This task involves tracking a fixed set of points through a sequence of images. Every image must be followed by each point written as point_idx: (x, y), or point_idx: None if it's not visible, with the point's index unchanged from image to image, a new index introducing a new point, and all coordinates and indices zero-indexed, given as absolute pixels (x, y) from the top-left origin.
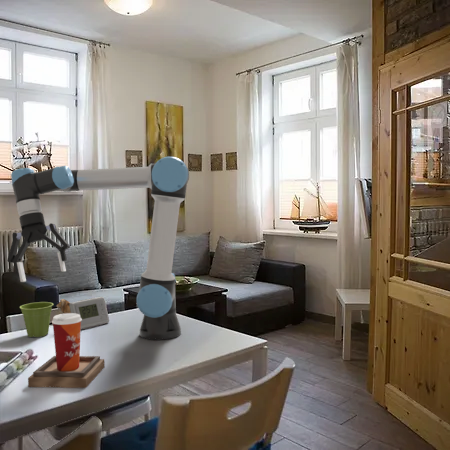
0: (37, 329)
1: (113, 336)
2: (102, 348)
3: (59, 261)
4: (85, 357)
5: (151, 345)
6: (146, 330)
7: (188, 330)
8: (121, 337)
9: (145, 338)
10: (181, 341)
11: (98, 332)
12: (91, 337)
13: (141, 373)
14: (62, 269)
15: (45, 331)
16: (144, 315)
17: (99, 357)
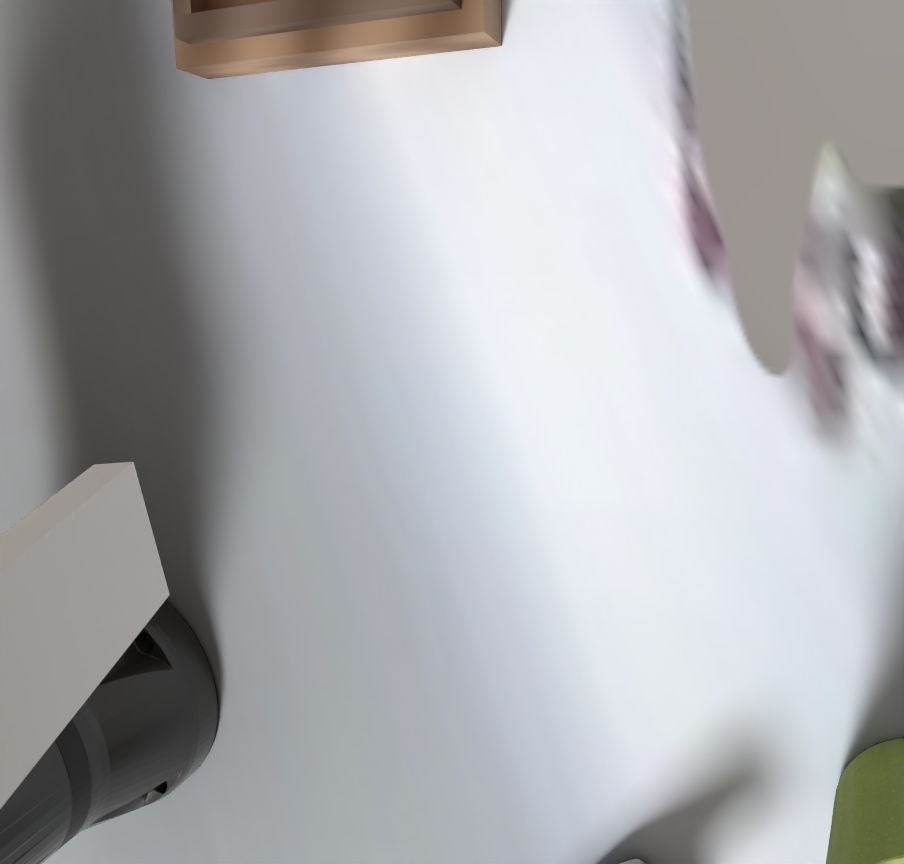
0: (902, 765)
1: (351, 679)
2: (333, 433)
3: (11, 558)
4: (246, 5)
5: None
6: (142, 648)
7: None
8: (300, 650)
9: (165, 600)
10: None
11: (472, 786)
12: (478, 677)
13: (21, 11)
14: (90, 479)
15: (842, 784)
16: (93, 722)
17: (178, 31)
